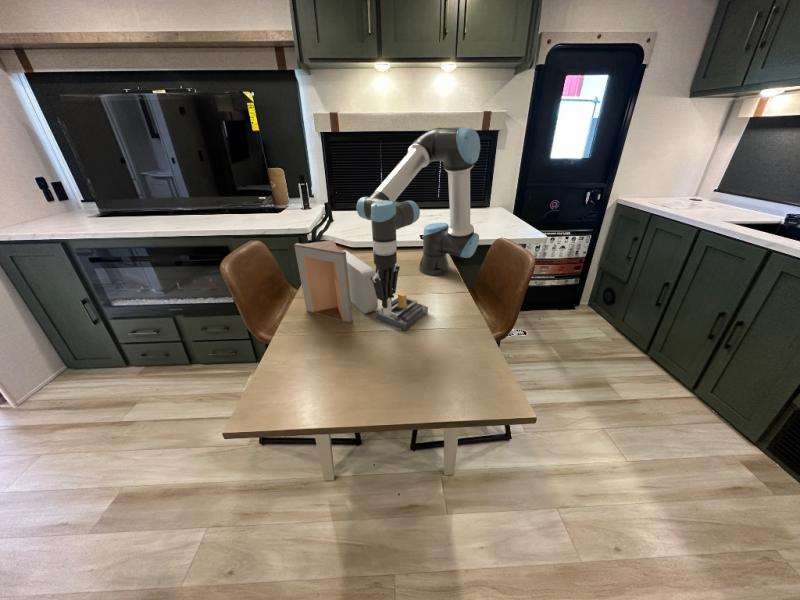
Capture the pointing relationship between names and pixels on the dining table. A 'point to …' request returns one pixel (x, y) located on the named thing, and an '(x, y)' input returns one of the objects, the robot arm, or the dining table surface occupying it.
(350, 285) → the rounded white slab
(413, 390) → the dining table surface
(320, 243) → the cabinet
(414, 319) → the frame
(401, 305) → the breaker lever
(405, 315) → the grey slider track plate
